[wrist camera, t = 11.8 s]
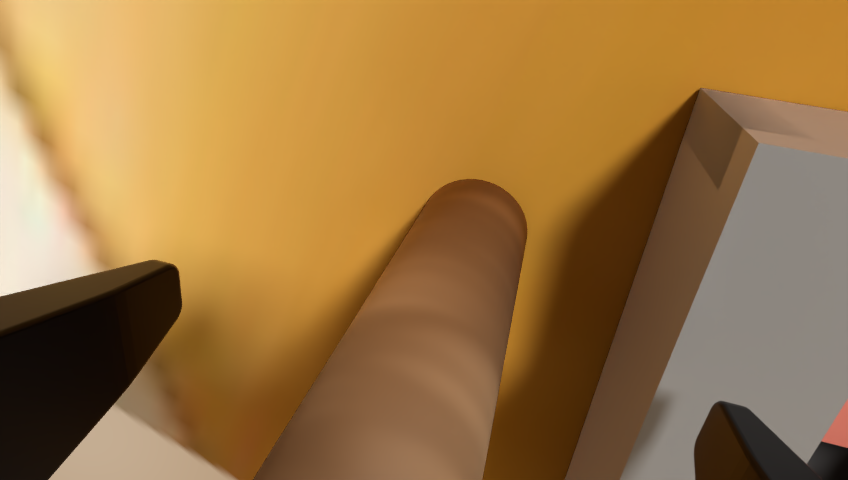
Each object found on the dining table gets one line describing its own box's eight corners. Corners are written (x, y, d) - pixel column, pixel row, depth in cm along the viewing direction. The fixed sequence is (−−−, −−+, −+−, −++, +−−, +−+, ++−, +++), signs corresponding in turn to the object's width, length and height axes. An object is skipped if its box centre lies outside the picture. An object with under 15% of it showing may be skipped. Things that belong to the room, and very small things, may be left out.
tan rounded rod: (537, 191, 13) (415, 893, 3) (515, 286, 14) (379, 1001, 4) (428, 169, 13) (21, 728, 4) (415, 263, 14) (89, 869, 5)
